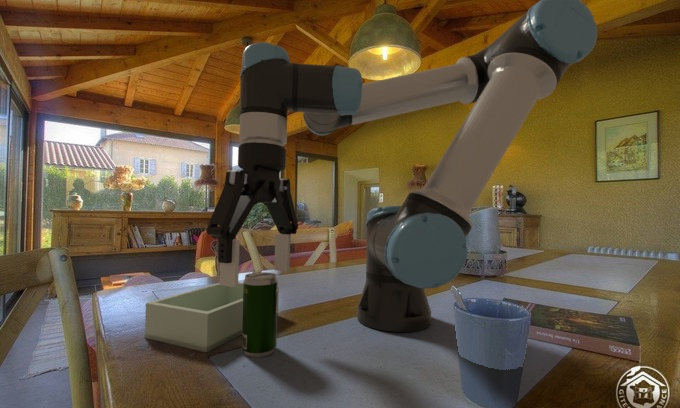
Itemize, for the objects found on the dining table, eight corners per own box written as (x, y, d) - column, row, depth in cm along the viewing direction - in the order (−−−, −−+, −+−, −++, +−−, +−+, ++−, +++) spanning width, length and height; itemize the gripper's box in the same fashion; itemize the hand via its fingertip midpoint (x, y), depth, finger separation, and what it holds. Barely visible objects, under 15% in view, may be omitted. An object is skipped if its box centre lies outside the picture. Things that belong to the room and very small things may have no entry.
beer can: (252, 361, 48) (254, 280, 49) (235, 350, 52) (237, 274, 53) (283, 351, 52) (284, 275, 52) (265, 341, 56) (266, 270, 56)
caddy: (278, 315, 70) (278, 287, 70) (206, 352, 51) (207, 314, 51) (226, 307, 75) (227, 280, 75) (144, 337, 57) (145, 303, 57)
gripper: (284, 158, 66) (281, 264, 65) (181, 128, 43) (175, 291, 42) (318, 156, 63) (314, 267, 62) (226, 123, 40) (220, 298, 39)
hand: (258, 277), depth 52 cm, fingers open, 13 cm apart
